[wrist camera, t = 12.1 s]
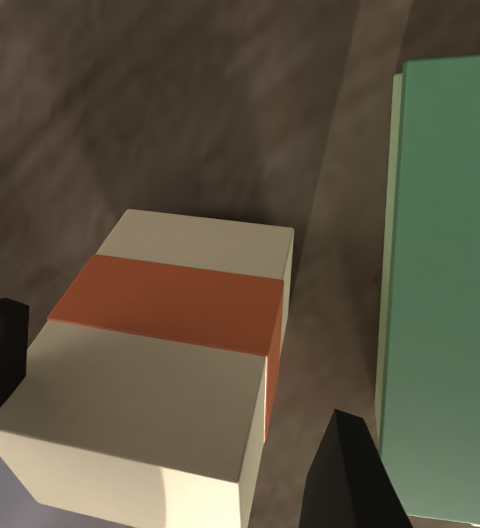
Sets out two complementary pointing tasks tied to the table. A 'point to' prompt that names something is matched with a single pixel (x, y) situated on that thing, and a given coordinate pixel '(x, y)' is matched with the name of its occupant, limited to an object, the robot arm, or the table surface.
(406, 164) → the lunchbox
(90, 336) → the juice carton
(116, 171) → the table surface
